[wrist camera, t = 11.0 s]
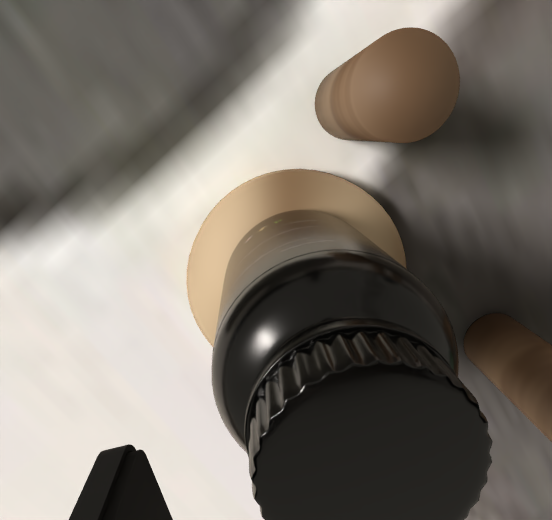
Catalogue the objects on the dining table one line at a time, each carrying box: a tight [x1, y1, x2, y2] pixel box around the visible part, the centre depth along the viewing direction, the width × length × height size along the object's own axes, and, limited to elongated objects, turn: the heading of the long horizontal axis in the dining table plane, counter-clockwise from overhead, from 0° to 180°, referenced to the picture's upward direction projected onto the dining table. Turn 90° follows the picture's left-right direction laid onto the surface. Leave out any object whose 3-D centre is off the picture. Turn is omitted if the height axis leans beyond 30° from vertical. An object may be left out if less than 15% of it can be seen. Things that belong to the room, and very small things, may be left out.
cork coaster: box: [187, 169, 407, 347], centre depth 20 cm, size 10×10×1 cm
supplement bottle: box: [212, 210, 492, 520], centre depth 14 cm, size 7×7×12 cm
